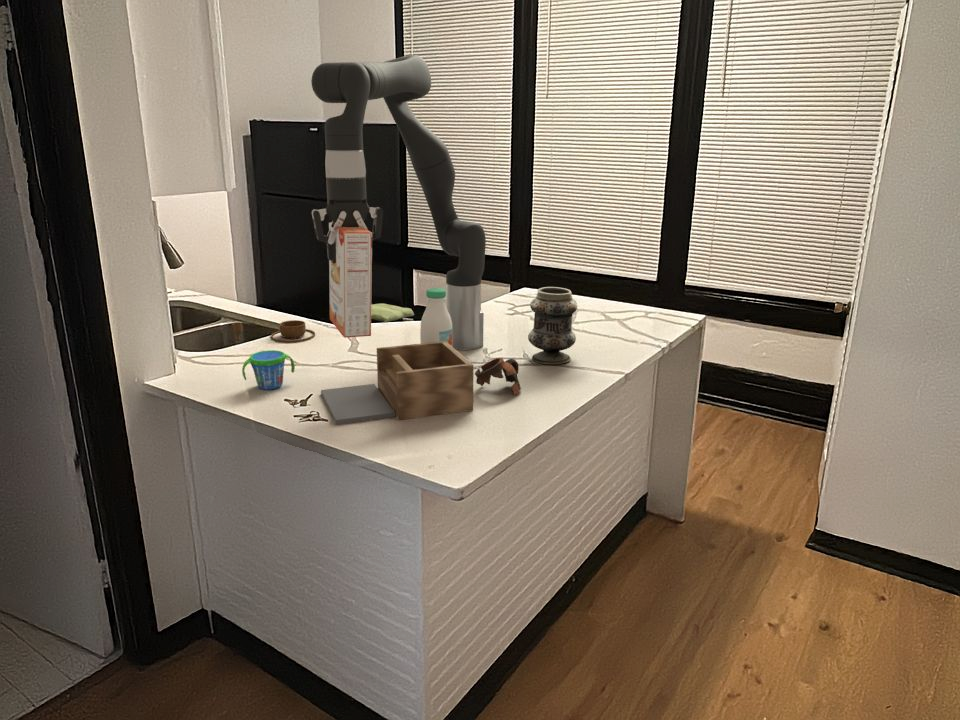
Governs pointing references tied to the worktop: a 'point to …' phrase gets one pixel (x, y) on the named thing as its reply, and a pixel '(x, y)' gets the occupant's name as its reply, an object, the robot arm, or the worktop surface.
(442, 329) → the milk bottle
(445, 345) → the wooden box
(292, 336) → the place setting
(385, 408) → the mat
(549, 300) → the apothecary jar
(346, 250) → the cracker box
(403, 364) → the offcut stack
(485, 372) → the brown jagged arch
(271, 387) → the snack cup
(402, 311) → the washcloth
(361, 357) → the worktop surface
